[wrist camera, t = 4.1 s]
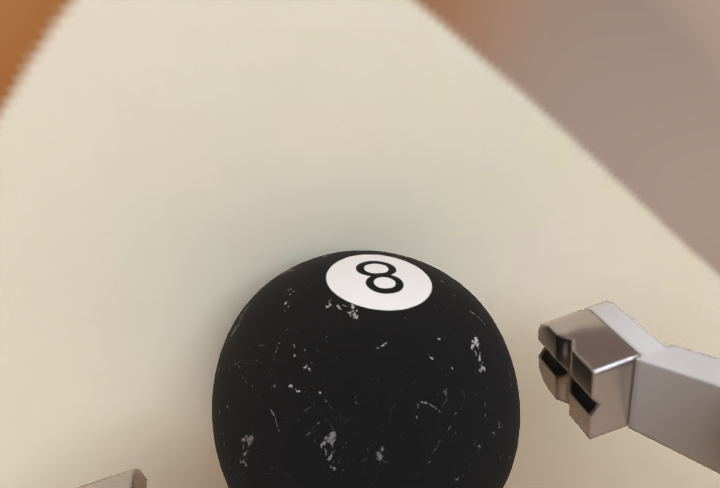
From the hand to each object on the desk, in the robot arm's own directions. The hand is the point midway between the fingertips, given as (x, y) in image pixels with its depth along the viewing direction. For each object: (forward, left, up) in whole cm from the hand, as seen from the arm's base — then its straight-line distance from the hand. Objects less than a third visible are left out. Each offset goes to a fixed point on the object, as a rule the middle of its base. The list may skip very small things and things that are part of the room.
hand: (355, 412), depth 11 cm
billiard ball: (0, 0, -4) cm, 4 cm away
